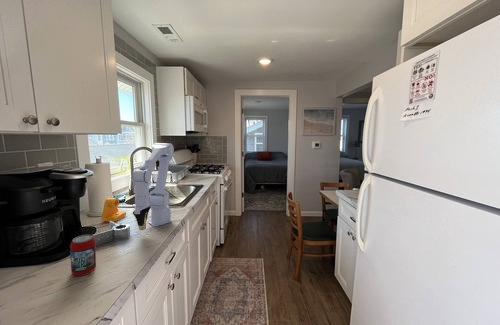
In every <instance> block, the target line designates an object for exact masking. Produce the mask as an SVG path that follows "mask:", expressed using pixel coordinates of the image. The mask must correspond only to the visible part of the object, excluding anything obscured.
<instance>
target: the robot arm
mask: <svg viewBox="0 0 500 325" xmlns="http://www.w3.org/2000/svg"><path fill="white" fill-rule="evenodd" d="M151 150H152V152H151V153H150V155H149V157H148V158H145V159H144V160H143V162H142V164H141V165H140V166H139V167H138V169H135V170H134V171H133V172H132V174H131V181H132V183H133V187H134V204H132V207H133V208H134V211H132V215H133V216H134V217H135V219H136V223H137V226H138V227H139V226H143V225H144V220H145V215H146V213H147V215H146V222H147V224H150V225H151V226H153V227H158V226H162V225H166V224H169V223H172V220H171V217H172V215H171V214H172V213H171V208H170V206H169V203H170V193H169V192H168V191H167V190H166V189H165V188H166V185H167V184H166V183H167V176H168V172H169V165H170V161H171V160H173V157H174V151H175V148H174V145H173V144H172V143H166V142H165V143H162V142H154V143H153V144H152V147H151ZM158 160H159V164H158V171H157V177H156V181H155V186H154V188H153V189H152V190H150V186H149V184H150V181H151V179H152V175H153V171H154V169H155V168H156V166H157V163H156V162H157V161H158ZM149 191H150V192H149ZM149 213H151V215H150V219H151V220H149V221H147V220H148V216H149Z"/></svg>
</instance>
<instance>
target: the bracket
mask: <svg viewBox="0 0 500 325" xmlns="http://www.w3.org/2000/svg"><path fill="white" fill-rule="evenodd" d="M119 205H120V199H119V198H118V197H107V198H106V199H105V201H104V204H103V209H102V214H101V221H102V222H109V221H112V222H120V221H121V220H122V219H124V218H125V217H126V215H127V211H126V210H125V211H123V210H119V209H118V207H119Z"/></svg>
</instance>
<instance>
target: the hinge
mask: <svg viewBox="0 0 500 325" xmlns="http://www.w3.org/2000/svg"><path fill="white" fill-rule="evenodd" d="M108 225H109V226H108V228H109V229H108V230H105V231H101V232H98V233H95V234H92V237H93V238H94V239H95V247H97V246H100V245H101V246H102V245H103V244H106V243H110V242H112V241H114V242H118V241H119V242H120V241H124V240H127V239H128V238H129V237H131V225H130V224H128V223H120V224H119V223H116V222H115V221H108Z"/></svg>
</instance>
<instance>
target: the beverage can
mask: <svg viewBox="0 0 500 325" xmlns="http://www.w3.org/2000/svg"><path fill="white" fill-rule="evenodd" d="M69 249H70V250H69V252H70V268H71V269H70V270H71V274H72V275H73V276H78V277H79V276H84V275H88V274H89V273H91V272H93V271H94V270H95V269H96V267H97V256H96V255H97V252H96V250H97V249H96V246H95V239H94V238H93V234H82V235H78V236H75V237H74V238H73V239H72V241H71V243H70V245H69Z"/></svg>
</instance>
